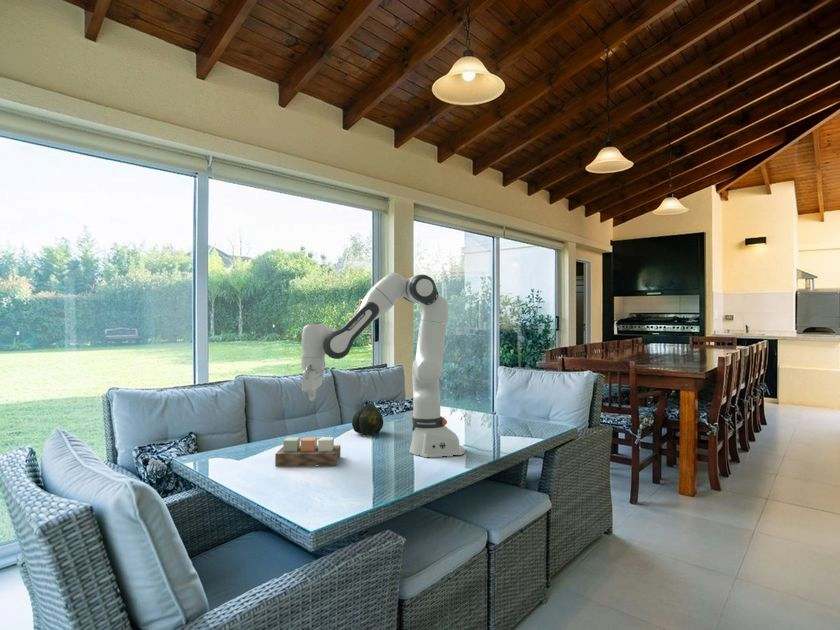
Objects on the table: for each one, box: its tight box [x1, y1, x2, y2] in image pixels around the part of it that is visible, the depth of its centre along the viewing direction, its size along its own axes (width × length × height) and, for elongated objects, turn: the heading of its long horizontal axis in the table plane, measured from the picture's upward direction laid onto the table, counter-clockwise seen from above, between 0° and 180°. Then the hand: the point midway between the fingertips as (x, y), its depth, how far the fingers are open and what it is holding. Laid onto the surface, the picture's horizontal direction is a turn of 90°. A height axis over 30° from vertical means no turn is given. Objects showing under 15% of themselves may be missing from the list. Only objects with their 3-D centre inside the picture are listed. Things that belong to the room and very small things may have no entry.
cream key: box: [317, 436, 335, 451], centre depth 186 cm, size 5×5×5 cm
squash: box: [351, 402, 384, 437], centre depth 231 cm, size 14×15×15 cm
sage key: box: [282, 436, 301, 452], centre depth 186 cm, size 5×5×5 cm
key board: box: [274, 444, 341, 467], centre depth 186 cm, size 22×12×4 cm, turn 91°
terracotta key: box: [300, 436, 318, 451], centre depth 186 cm, size 5×5×5 cm
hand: (312, 400), depth 189 cm, fingers closed
